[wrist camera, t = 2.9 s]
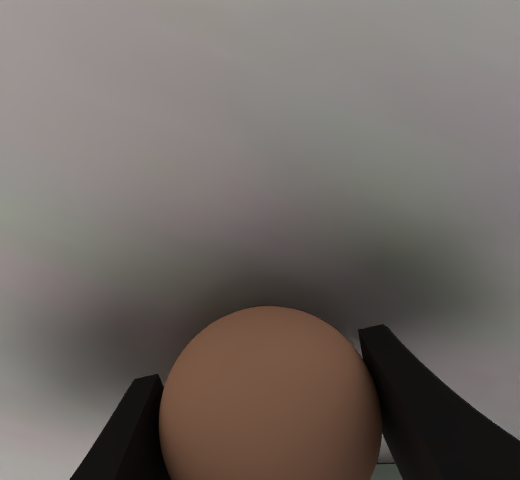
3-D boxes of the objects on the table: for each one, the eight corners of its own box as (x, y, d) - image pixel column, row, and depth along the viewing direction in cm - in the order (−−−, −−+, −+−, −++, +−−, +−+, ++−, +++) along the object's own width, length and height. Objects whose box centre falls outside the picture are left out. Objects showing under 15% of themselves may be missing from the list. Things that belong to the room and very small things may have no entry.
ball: (230, 233, 12) (234, 384, 7) (388, 316, 13) (473, 483, 9) (139, 372, 13) (96, 560, 9) (287, 430, 15) (313, 617, 10)
